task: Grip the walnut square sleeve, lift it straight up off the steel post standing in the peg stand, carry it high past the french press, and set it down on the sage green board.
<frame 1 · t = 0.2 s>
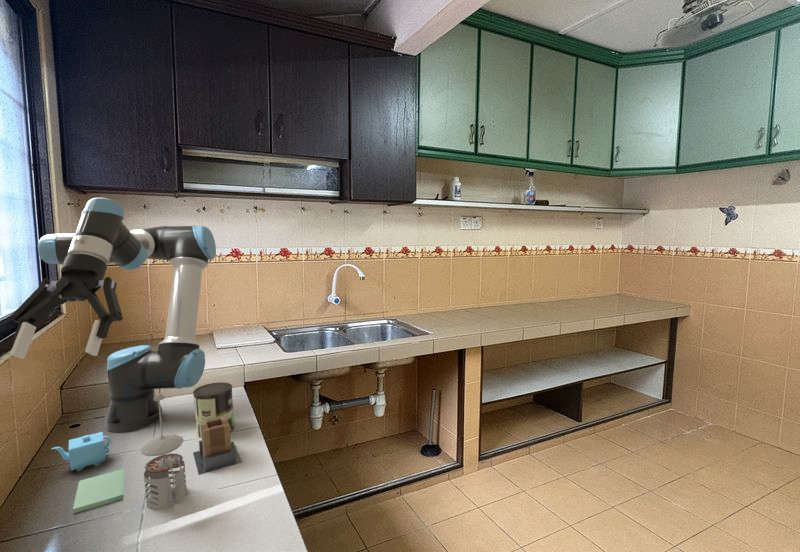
hand: (54, 355, 81), 36 cm above the countertop, tool tilted 35°, fingers open, 13 cm apart
coffee can: (216, 435, 122), on the countertop
sleeve: (217, 457, 107), point 1 cm above the countertop, touching peg stand
french press: (169, 506, 91), on the countertop
peg stand: (217, 462, 107), on the countertop
teapot: (84, 466, 107), on the countertop
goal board: (103, 490, 96), on the countertop
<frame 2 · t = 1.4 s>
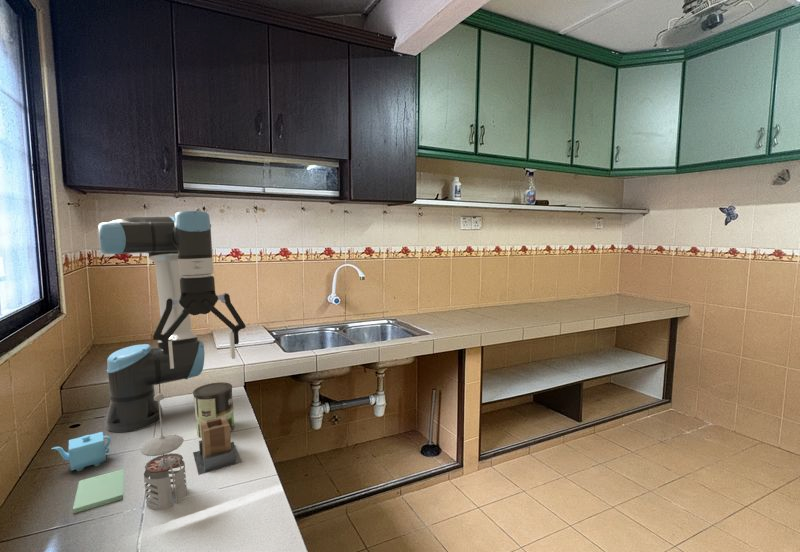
hand: (203, 362, 102), 27 cm above the countertop, tool pointing down, fingers open, 13 cm apart
nothing on the countertop moved.
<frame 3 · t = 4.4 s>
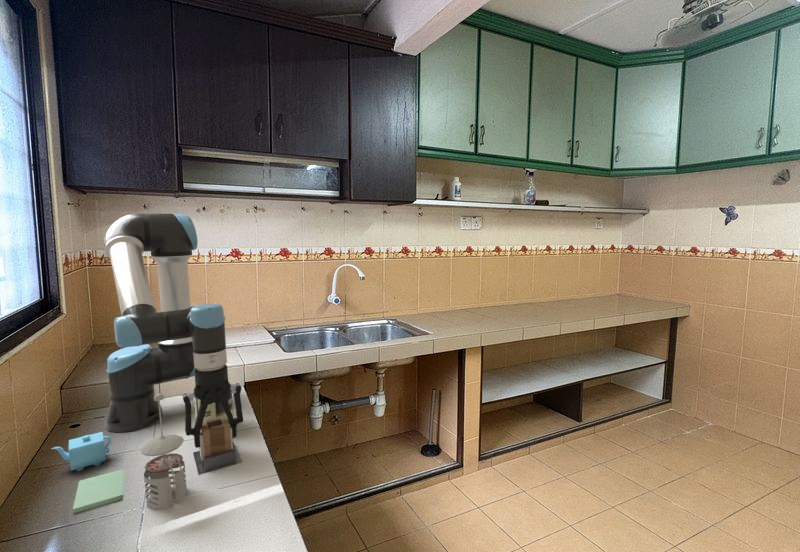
hand: (216, 453, 107), 2 cm above the countertop, tool pointing down, fingers closed on sleeve, 6 cm apart
sleeve: (217, 457, 107), point 2 cm above the countertop, touching gripper, peg stand
everything else where it was.
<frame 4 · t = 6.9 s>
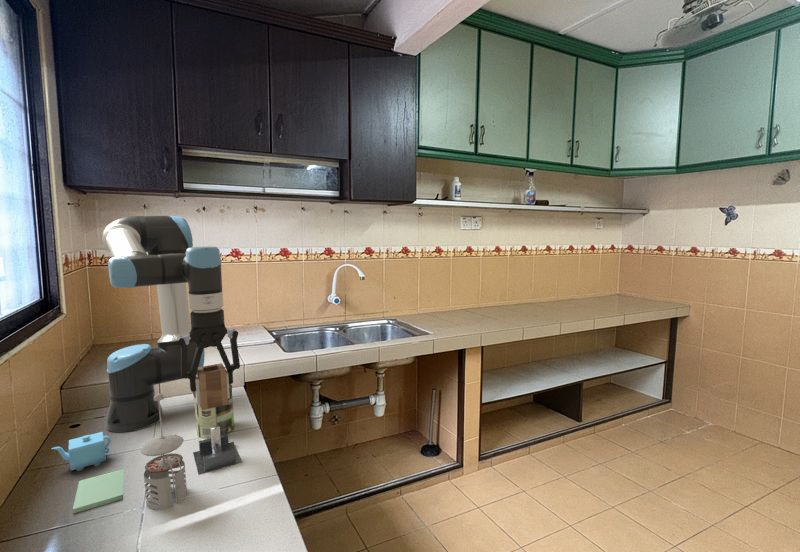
hand: (213, 399, 105), 17 cm above the countertop, tool pointing down, fingers closed on sleeve, 6 cm apart
sleeve: (213, 403, 105), point 16 cm above the countertop, touching gripper
everything else where it was.
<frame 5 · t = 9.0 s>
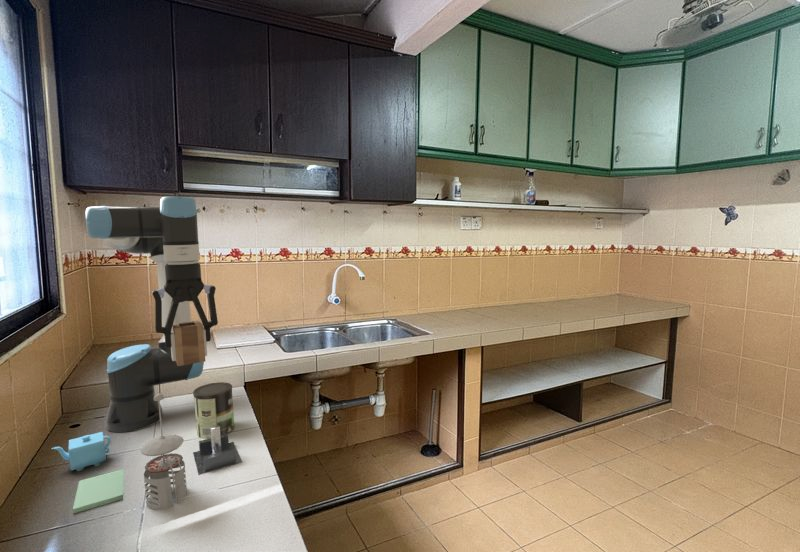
hand: (189, 356, 102), 29 cm above the countertop, tool pointing down, fingers closed on sleeve, 6 cm apart
sleeve: (190, 360, 102), point 28 cm above the countertop, touching gripper
everything else where it was.
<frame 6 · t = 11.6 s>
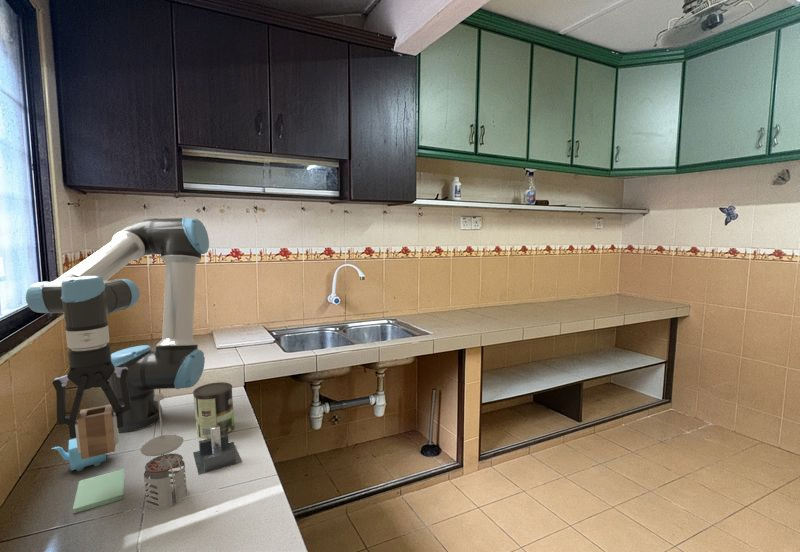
hand: (99, 445, 95), 11 cm above the countertop, tool pointing down, fingers closed on sleeve, 6 cm apart
sleeve: (99, 449, 95), point 10 cm above the countertop, touching gripper
everything else where it was.
when the fingers open (3 cm above the countertop, at t = 13.7 s): sleeve drops 1 cm, resting on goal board.
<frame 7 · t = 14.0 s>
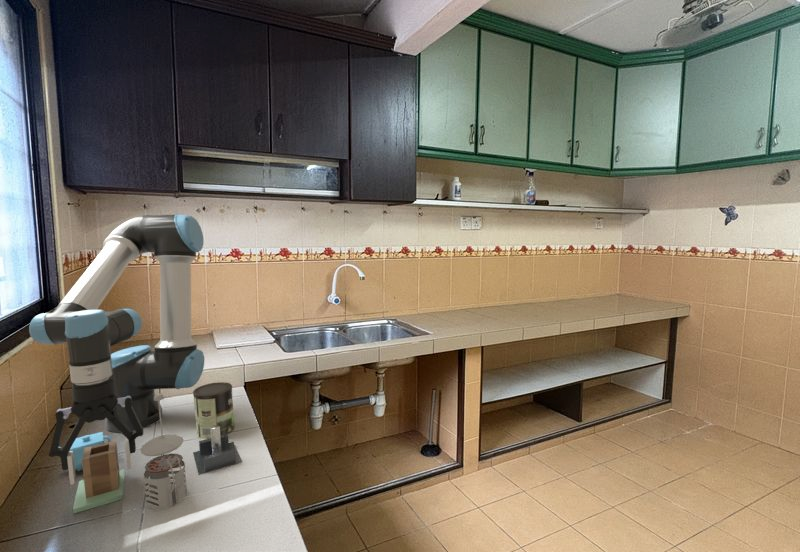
hand: (102, 473, 96), 4 cm above the countertop, tool pointing down, fingers open, 10 cm apart
sleeve: (103, 486, 96), point 1 cm above the countertop, touching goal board
everything else where it was.
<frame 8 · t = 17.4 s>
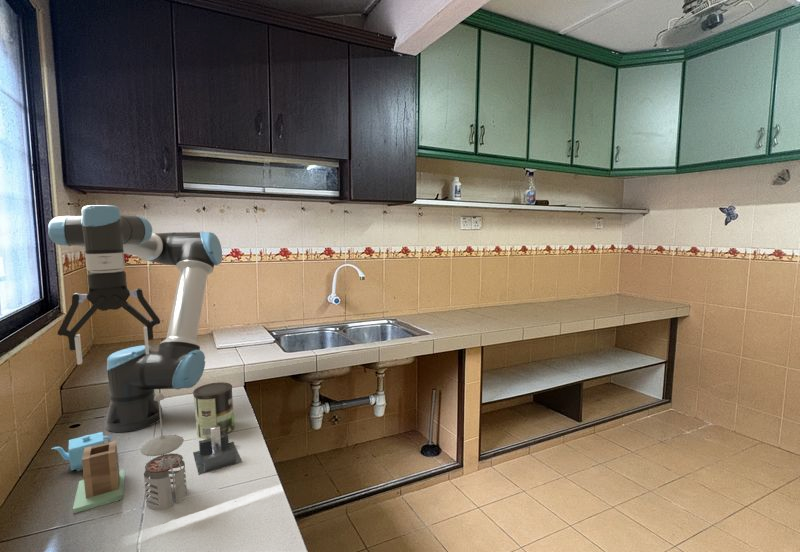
hand: (114, 357, 102), 29 cm above the countertop, tool pointing down, fingers open, 13 cm apart
nothing on the countertop moved.
at the end: sleeve inside the target area (0.1 cm from its centre), point 1.0 cm above the countertop; sleeve tilted 0°; sleeve touching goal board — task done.
